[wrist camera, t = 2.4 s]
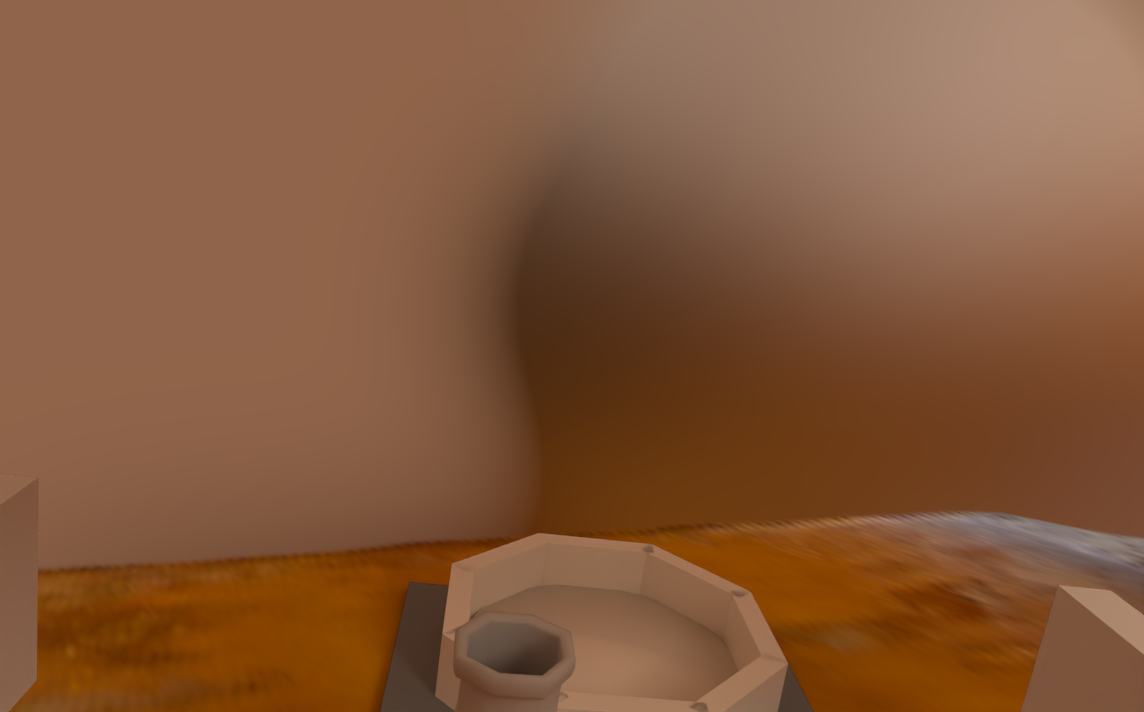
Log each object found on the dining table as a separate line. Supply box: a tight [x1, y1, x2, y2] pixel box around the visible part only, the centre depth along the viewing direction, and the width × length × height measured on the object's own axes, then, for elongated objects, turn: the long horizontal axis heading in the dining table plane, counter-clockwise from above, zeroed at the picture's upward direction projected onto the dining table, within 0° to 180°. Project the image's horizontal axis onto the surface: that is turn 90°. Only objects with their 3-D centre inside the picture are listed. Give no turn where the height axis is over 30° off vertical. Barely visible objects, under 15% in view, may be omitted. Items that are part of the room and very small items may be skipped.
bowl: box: [435, 533, 788, 712], centre depth 38 cm, size 14×14×3 cm
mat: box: [380, 582, 814, 712], centre depth 37 cm, size 18×15×1 cm
